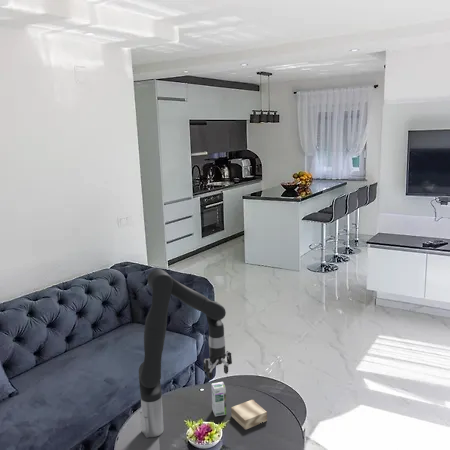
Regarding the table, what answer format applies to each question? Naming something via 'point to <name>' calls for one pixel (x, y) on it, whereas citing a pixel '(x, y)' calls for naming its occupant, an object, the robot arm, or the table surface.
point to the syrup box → (218, 398)
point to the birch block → (249, 414)
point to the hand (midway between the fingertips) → (218, 375)
